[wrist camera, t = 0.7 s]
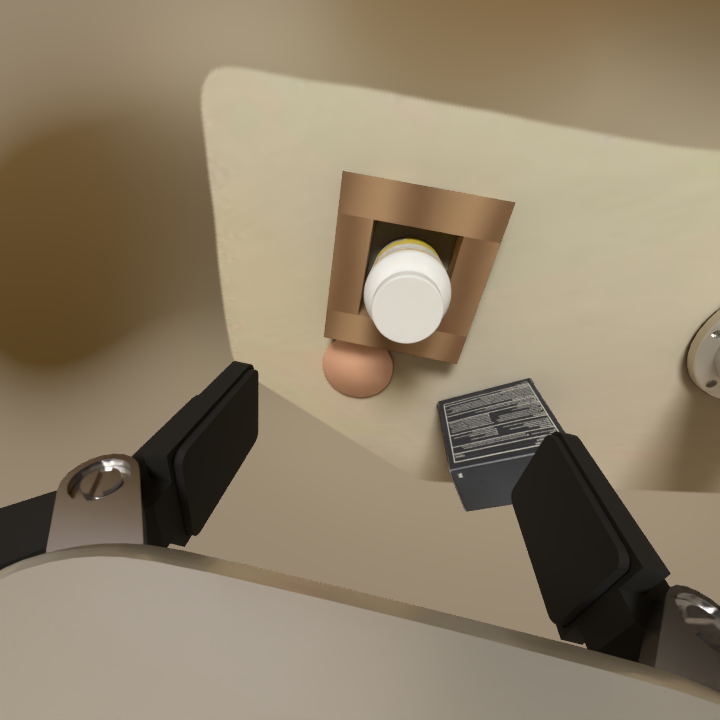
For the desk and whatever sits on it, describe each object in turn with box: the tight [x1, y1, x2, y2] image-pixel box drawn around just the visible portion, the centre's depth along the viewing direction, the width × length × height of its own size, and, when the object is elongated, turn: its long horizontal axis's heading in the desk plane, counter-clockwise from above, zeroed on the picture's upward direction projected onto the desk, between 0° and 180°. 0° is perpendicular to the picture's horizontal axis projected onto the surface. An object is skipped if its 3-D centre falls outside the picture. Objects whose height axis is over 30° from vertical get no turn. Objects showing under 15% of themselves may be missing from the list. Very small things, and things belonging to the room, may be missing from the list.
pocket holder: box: [324, 171, 515, 364], centre depth 29 cm, size 14×14×3 cm
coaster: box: [323, 340, 393, 397], centre depth 36 cm, size 8×8×1 cm
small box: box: [437, 378, 565, 511], centre depth 32 cm, size 11×6×10 cm, turn 113°
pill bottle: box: [364, 237, 451, 344], centre depth 25 cm, size 6×6×12 cm
